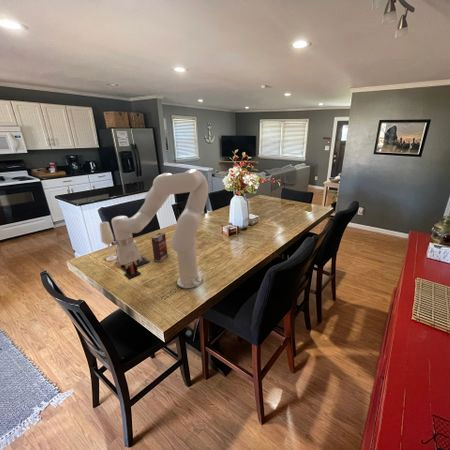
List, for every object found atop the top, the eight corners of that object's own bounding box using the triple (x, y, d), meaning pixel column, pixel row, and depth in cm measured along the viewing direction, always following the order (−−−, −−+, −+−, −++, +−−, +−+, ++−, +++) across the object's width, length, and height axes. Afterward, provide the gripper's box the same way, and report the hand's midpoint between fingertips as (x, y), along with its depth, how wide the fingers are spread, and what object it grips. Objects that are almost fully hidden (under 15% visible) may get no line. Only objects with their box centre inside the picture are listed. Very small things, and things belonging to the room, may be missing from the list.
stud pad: (141, 274, 125) (138, 264, 123) (129, 279, 121) (126, 269, 119) (135, 271, 129) (133, 261, 127) (124, 275, 125) (121, 265, 122)
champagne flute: (118, 255, 157) (111, 220, 149) (116, 259, 151) (109, 224, 143) (106, 256, 155) (98, 221, 147) (104, 261, 149) (96, 225, 141)
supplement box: (161, 261, 149) (157, 238, 144) (154, 261, 150) (150, 237, 145) (168, 255, 157) (165, 233, 152) (161, 254, 158) (158, 232, 153)
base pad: (148, 262, 148) (148, 259, 148) (125, 271, 138) (124, 268, 138) (138, 255, 157) (137, 252, 156) (115, 263, 147) (115, 260, 146)
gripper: (110, 248, 110) (118, 282, 116) (144, 237, 121) (150, 269, 128) (104, 244, 115) (112, 277, 121) (137, 234, 126) (143, 264, 132)
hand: (132, 272), depth 124 cm, fingers closed on stud pad, 2 cm apart
